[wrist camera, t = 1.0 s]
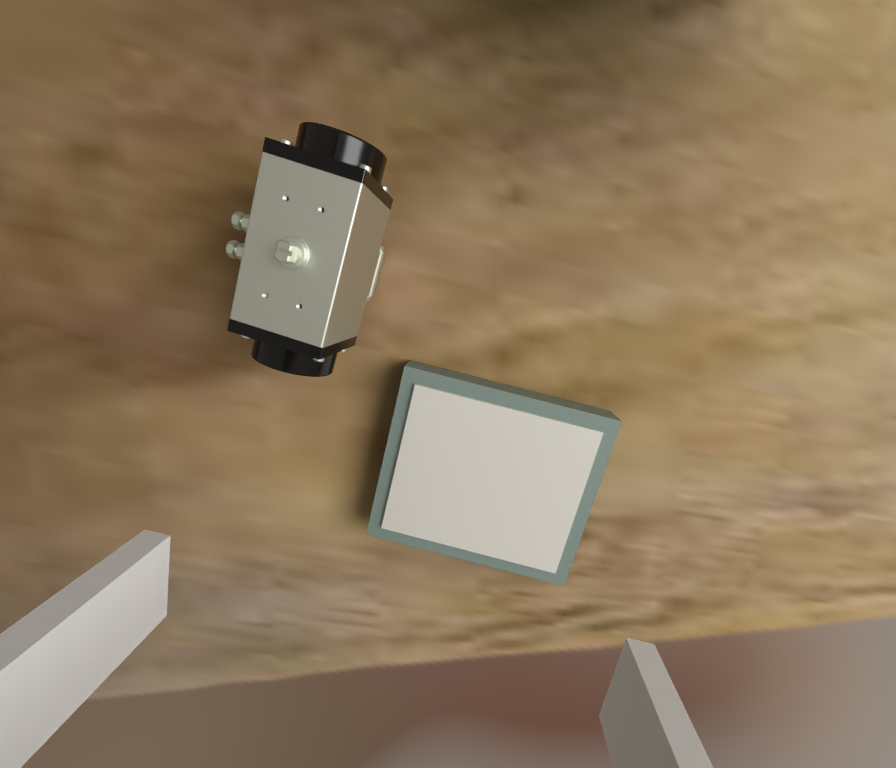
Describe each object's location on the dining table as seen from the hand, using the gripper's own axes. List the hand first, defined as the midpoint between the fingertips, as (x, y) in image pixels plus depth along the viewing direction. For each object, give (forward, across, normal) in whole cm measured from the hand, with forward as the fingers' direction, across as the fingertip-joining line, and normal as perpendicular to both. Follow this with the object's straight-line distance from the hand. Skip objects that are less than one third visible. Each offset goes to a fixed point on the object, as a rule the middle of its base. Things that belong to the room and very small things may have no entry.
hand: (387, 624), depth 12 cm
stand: (+20, +4, -3) cm, 21 cm away
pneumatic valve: (+21, -9, +9) cm, 24 cm away
